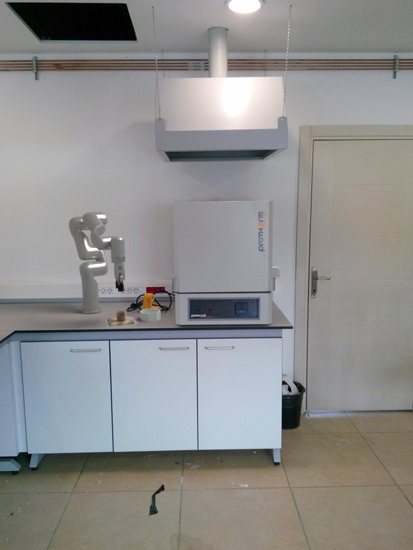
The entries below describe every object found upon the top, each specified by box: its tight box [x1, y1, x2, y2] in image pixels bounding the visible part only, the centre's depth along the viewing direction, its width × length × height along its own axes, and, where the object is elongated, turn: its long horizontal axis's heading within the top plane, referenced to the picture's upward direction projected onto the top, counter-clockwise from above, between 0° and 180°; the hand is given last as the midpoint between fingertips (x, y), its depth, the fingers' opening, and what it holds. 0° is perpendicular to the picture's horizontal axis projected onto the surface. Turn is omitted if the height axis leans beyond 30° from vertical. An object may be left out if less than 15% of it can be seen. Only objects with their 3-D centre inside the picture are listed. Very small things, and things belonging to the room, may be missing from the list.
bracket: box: [141, 292, 160, 310], centre depth 239 cm, size 11×7×12 cm, turn 166°
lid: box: [107, 310, 135, 328], centre depth 217 cm, size 14×14×6 cm
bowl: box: [139, 308, 162, 323], centre depth 223 cm, size 11×11×6 cm
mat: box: [104, 316, 138, 328], centre depth 218 cm, size 16×16×1 cm
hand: (119, 289), depth 215 cm, fingers open, 9 cm apart
